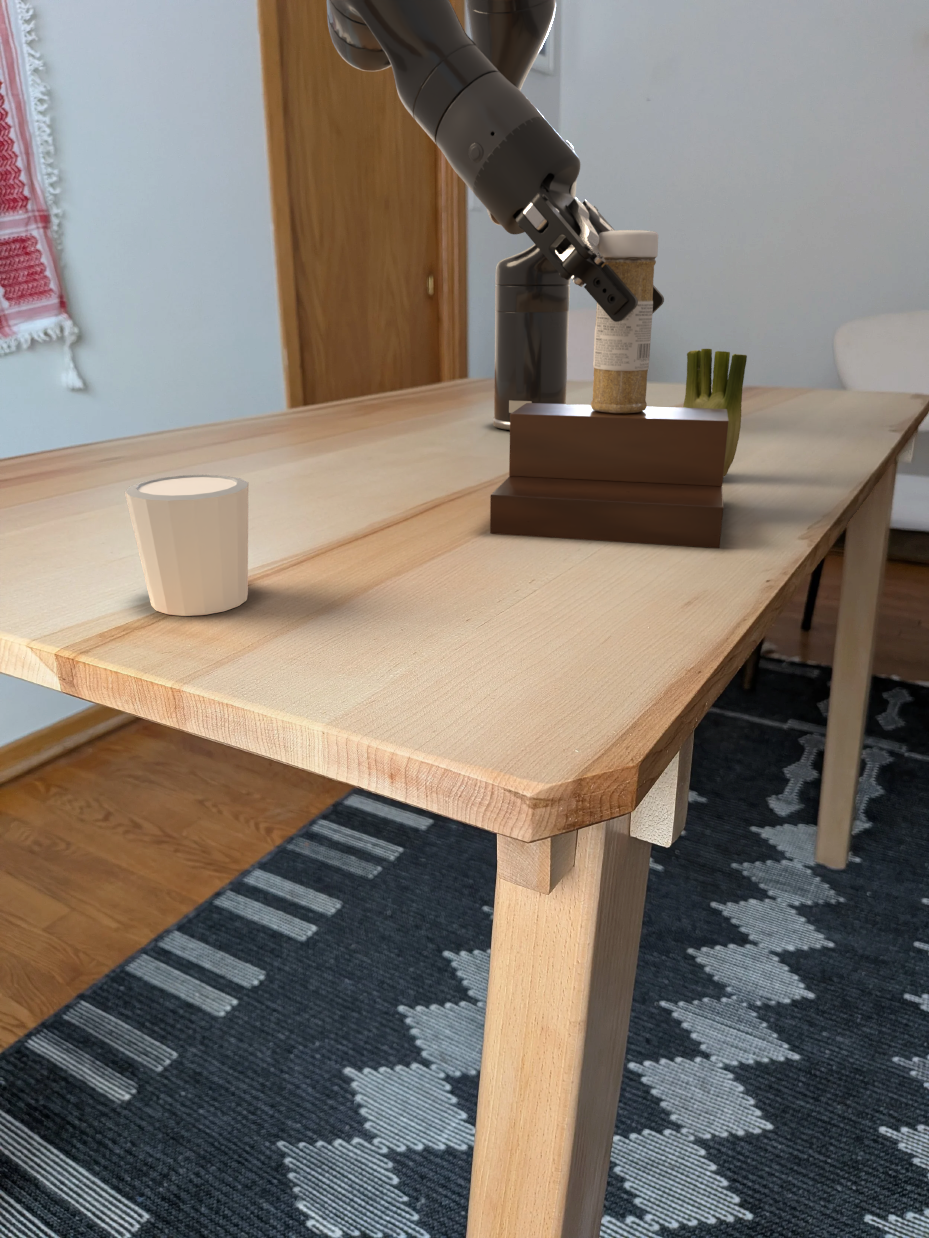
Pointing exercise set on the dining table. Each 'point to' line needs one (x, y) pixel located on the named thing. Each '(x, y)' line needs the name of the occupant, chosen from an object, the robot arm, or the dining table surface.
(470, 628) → the dining table surface
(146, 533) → the cream cup
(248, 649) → the dining table surface
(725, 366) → the fennel bulb
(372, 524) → the dining table surface
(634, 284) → the spice jar
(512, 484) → the step rack
